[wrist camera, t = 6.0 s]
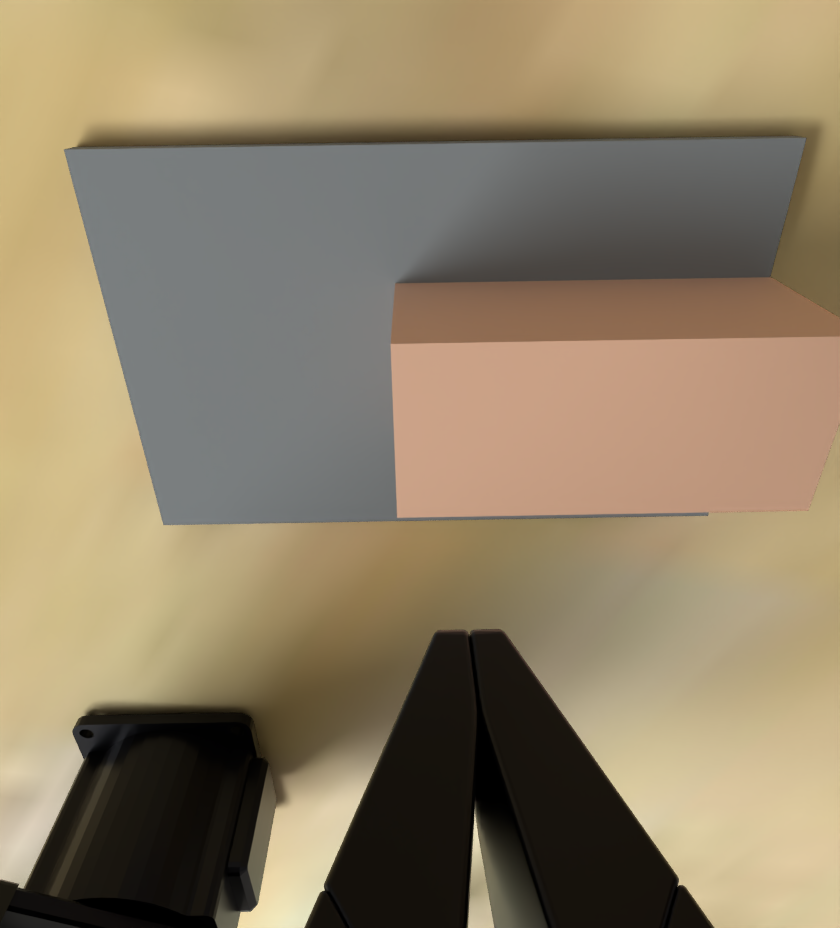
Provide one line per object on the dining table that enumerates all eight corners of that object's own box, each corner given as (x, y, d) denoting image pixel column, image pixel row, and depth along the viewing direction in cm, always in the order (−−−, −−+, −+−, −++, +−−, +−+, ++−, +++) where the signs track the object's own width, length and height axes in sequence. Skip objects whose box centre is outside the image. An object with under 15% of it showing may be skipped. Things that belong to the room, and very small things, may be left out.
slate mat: (168, 515, 20) (163, 525, 19) (73, 147, 15) (63, 149, 14) (701, 505, 20) (708, 515, 19) (794, 135, 15) (806, 138, 14)
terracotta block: (397, 518, 14) (808, 510, 14) (390, 343, 12) (870, 336, 12) (399, 431, 18) (732, 425, 18) (395, 283, 16) (770, 277, 16)
